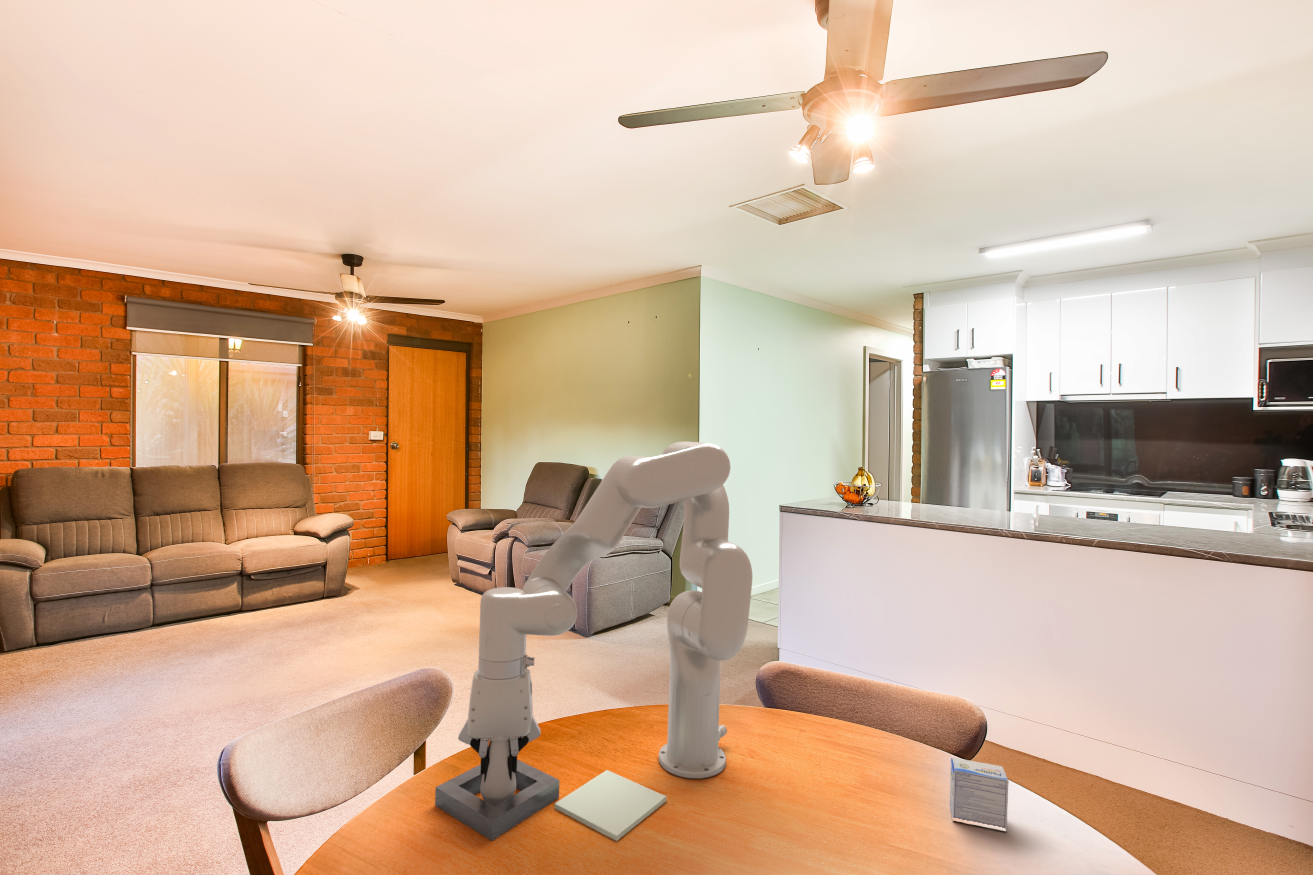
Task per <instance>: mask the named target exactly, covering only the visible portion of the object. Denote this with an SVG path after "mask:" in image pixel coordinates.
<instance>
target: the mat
mask: <svg viewBox="0 0 1313 875" xmlns="http://www.w3.org/2000/svg"><path fill="white" fill-rule="evenodd" d="M664 803H667V796H666V795H664V794H662V793H660V792H657V791H655V790H654V789H651V788H649V787H646V786H644V785H641V784H640V783H637V782H635V781H634V780H633V781H632V780H631V779H629V778H626V777H624V776H621V775H619V774H617V773H615V772H612V771H610V770H608V769H606V770H605V771H603V772H601V773H600V774H598V775H596V776H595V777H593V778H592V779H591V780H589V781H588V782H585V783H584V784H583V785H582V786H579V787H578V788H576V789H575V790H573V791H572V792H570V793H569V794H567V795H566V796H564V797H563V798H560V799H559V800H558V801H556V802H555V803H554V809H555V810H557V811H558V812H561V813H562V814H565V815H567V816H568V817H570V818H572V819H574V820H576V821H577V822H580V823H581V824H584V825H585V826H588V828H591V829H593V830H594V831H596V832H598V833H600V834H602V835H604V836H606V837H607V838H609V839H612V840H613V841H615V842H618V841H619V840H620V839H622V838H623V837H624V836H625V835H627V833H629V832H630V831H631V830H633V829H634V827H637V825H638V824H640V823H641V822H642V821H643V820H644V819H647V817H649V816H650V815H651V814H653V813H654V812H655V811H656V810H657V809H659V808H660V807H661V806H662V805H663V804H664Z"/></svg>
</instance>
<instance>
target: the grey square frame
mask: <svg viewBox="0 0 1313 875" xmlns="http://www.w3.org/2000/svg"><path fill="white" fill-rule="evenodd" d="M480 771H481V763H480V764H479V765H476V766H474V767H473V768H471V769H469V770H467V771H464V772H463V773H461V774H459V775H457V776H454V777H453V778H451V779H449V780H447V781H445V782H443V783H441V784H439V785H437V786H435V792H434V794H435V798H434V800H435V801H434V806H435V807H436V808H438V809H440V810H441V811H443V812H444V813H446V814H447V815H449V816H451V817H453V818H454V819H455V820H457V821H459V822H460V823H463V824H464V825H465V826H467V827H468V828H470V829H472V830H474V831H475V832H477V833H478V834H480V835H482V836H483V837H485V838H486V839H488V840H489V841H494V840H495V839H498V837H500V836H502V835H504V834H505V833H507V832H508V831H510V830H511V829H513V828H514V827H515V826H517V825H519V824H521V823H522V822H523V821H525V820H527V819H528V818H530V817H532V816H533V815H535V814H537V813H538V812H540V811H541V810H543V809H544V808H546V807H547V806H549V805H550V804H553V802H555V801H556V800H558V799H560V779H558V778H556V777H555V776H552V775H550V774H548V773H546V772H544V771H542V770H540V769H537V768H536V767H534V766H532V765H529V764H528V763H526V762H523V761H522V760H520V759H517V772H516V773H515V778H516V790H519V791H518V792H517V793H516V794H515V793H514V795H513V796H512V797H510V798H509V799H507V800H505V801H503V802H502V803H500V804H498V805H497V806H493V805H491V804H489V803H488V802H486V801H484V799H483V798H480V797H478V796H477V794H480V793H481V792H480V786H481V781H482V776H483V774H480Z"/></svg>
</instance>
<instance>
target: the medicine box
mask: <svg viewBox="0 0 1313 875" xmlns="http://www.w3.org/2000/svg"><path fill="white" fill-rule="evenodd" d="M1007 776H1008V775H1007V774H1006V771H1005V769H1004V767H1003V766H1001V765H997V764H991V763H986V762H980V761H974V760H968V759H962V758H957V757H951V758H950V776H949V777H950V780H949V781H950V782H949V808H950V807H951V810H950V814H951V813H952V816H951V818H952V817H953V818H958V819H962V820H967V821H973V822H978V823H982V824H987V825H993V826H998V827H1002V828H1005V829H1007V830H1008V806H1009V805H1008V803H1009V785H1010V784H1009V782H1010V781H1009V778H1008V777H1007Z"/></svg>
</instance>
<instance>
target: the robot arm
mask: <svg viewBox="0 0 1313 875" xmlns="http://www.w3.org/2000/svg"><path fill="white" fill-rule="evenodd" d="M730 473H731V461H730V458H729V456H728V454H727V453H726V451H725V450H724V449H723V448H722V447H720V446H719V445H717V444H715V443H710V442H699V441H698V442H697V441H677V442H673V443H671V444H669V445H668V446H666V447H665V449H664V450H663V452H662V454H660V455H656V456H648V457H647V456H641V455H639V456H637V455H627V456H626V455H625V456H623V457H621V458H618V459H617V460H616V461H615V462H614V463H613V464H612V465H611V466H610V468H609V469H608V471H606V474H605V475H604V477H603V478H602V479H601V482H600V483H599V484H598V486H597V488H596V489H595V491H593V492H594V493H593V494H592V496H591V497H590V499H589V500H588V502H587V503H586V504H585V506H584V508H583V509H582V511H581V512H580V514H579V515H578V517H577V518H576V519H575V521H574V522H573V524H571V526H570V527H568V528H567V529H566V530H565V531H564V533H563V534H562V535H561V536H560V537H559V538H558V539H557V540H556V541H555V542H554V543H553V544H551V546H550V547H549V548H548V549H547V551H546V552H545V553H544V554H543V555H542V557H541V558H540V560H539V561H538V563H536V564H537V565H536V566H535V568H534V569H533V571H532V572H531V573H530V575H529V577H528V579H527V580H526V581H525V582H524V585H523V587H522V589H521V588H518V587H509V586H501V587H500V586H499V587H494V588H490V589H488V590H486V591H484V593H483V594H482V595H481V598H480V609H479V632H478V633H479V637H478V638H479V640H478V666H477V667H478V668H477V670H476V671H474V673H473V676H472V682H471V687H470V694H469V704H468V714H467V715H468V716H467V720H466V721H465V723H464V725H463V727H462V728H461V730H460V732H458V733H459V734H458V737H457V739H458V741H459V742H462V743H464V744H466V745H469V746H470V747H471V748H472V749H473V750H474V751H475V752H476V753H477V754H478V756H479V758H480V764H481V771H480V774H484V782H485V781H486V776H487V772H488V765H489V749H488V748H489V743H490V740H489V739H490V738H496V737H497V736H499V735H501V736H502V737H506V738H510V745H511V748H510V751H509V753H510V755H509V757H508V769H509V777H510V780H511V781H512V772H513V773H516V772H517V760H518V755H519V753H520V752H521V751H522V750H523V749H524V748H525V747H526V746H527V745H528V744H529V743H530V742H533V741H534V740H536V739H538V738H539V737H540V736H541V728H540V726H539V724H538V723H537V720H536V719H535V717H534V715H533V683H532V682H533V681H532V677H531V671H530V669H529V668H530V667H533V666H535V657H533V656H528V655H529V654H527V651H526V650H527V636H528V635H529V636H531V635H532V636H543V637H544V636H545V637H551V636H552V637H553V636H555V637H556V636H559V635H562V634H565V633H567V632H568V631H569V630H571V629H572V627H573V626H574V625H575V623H576V621H577V618H578V607H577V604H576V602H575V599H573V597H572V596H571V595H570V594H569V593H568V592H567V591H568V589H569V587H570V586H571V585H572V583H573V581H574V580H575V578H576V577H577V576H578V575H579V573H580V572H581V571H582V570H583V569H584V568H585V567H587V565H590V563H591V562H594V560H597V559H599V558H601V557H605V556H607V555H609V554H610V553H611V552H613V551H615V550H616V549H617V547H618V546H619V545H620V542H621V541H622V540H623V538H624V536H625V535H626V533H627V531H628V530H629V528H630V526H631V525H632V524H633V522H634V520H636V517H637V516H638V514H639V512H640V510H641V509H642V508H643V509H655V508H660V507H664V506H668V505H671V504H676V503H679V502H683V510H684V511H683V513H684V514H683V528H682V536H681V545H680V554H679V570H680V574H681V575H682V576H683V577H684V578H685V580H687V581H688V582H689V583H691V584H692V585H694V586H696V587H697V588H700V589H702V590H701V591H699V590H684V591H683V592H681V593H679V594H677V595H676V597H674V598H673V600H672V601H671V603H670V605H669V607H668V609H667V616H666V628H667V637H668V644H669V645H668V647H669V677H668V678H669V680H668V681H669V682H668V711H667V712H668V714H667V743H665V744H664V745H662V746H661V748H660V749H659V751H658V761H659V762H658V763H659V764H660V766H661V767H662V768H663V769H664V770H666V771H667V772H668V773H670V774H672V775H675V776H677V777H681V778H687V779H705V778H710V777H713V776H716V775H717V774H719V773H721V772H722V771H723V770H724V769H725V767H726V765H727V763H726V762H727V756H726V753H725V752H724V751H723V750H722V748H721V747H719V742H720V741H721V738H722V737H724V736H725V735H726V734H727V733H728V730H727V726H725V725H724V724H720V723H719V722H720V699H721V698H720V695H721V692H720V691H721V672H722V671H721V661H722V662H723V661H728V660H731V659H732V658H734V657H735V656H737V654H738V653H739V652H740V651H741V649H742V647H743V645H744V644H745V640H746V637H747V632H748V625H749V616H750V606H751V598H752V597H751V596H752V588H753V569H752V568H753V567H752V564H751V559H750V558H749V556H748V554H747V553H746V552H745V550H744V549H742V547H740V546H739V545H737V544H736V543H733V542H730V541H729V529H730V528H729V526H730V524H729V522H730V503H729V497H728V495H727V494H728V493H727V491H726V488H725V486H724V484H725V483H726V482H727V480H728V478H729V476H730ZM528 667H529V668H528Z"/></svg>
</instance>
